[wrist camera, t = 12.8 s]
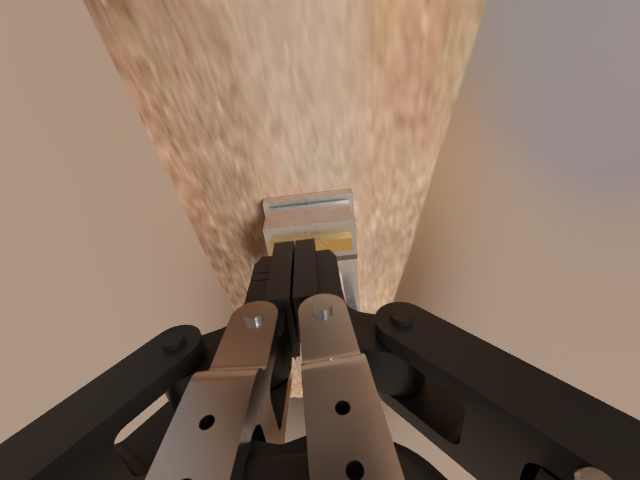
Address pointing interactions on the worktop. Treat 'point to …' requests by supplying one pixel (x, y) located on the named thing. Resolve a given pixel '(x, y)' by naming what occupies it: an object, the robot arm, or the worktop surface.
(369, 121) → the worktop surface
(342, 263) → the vise
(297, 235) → the sliding jaw
